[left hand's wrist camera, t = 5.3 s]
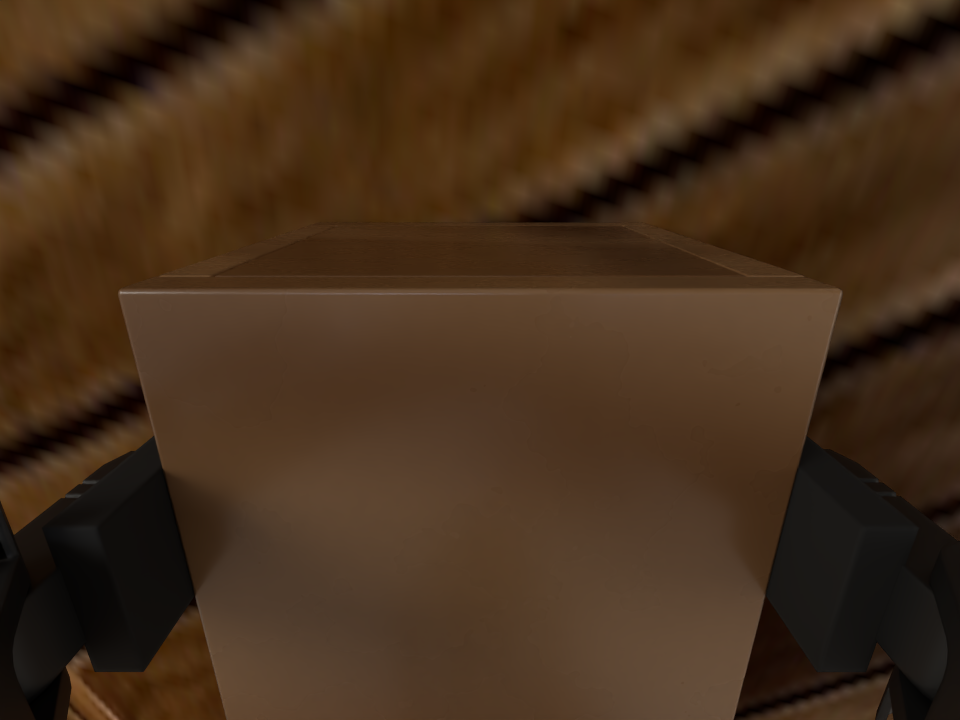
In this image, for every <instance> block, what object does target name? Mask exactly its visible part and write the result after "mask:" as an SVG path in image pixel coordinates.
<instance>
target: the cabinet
mask: <svg viewBox="0 0 960 720" xmlns="http://www.w3.org/2000/svg"><path fill="white" fill-rule="evenodd" d="M842 295H843V293H842V290H841V289H839V288H837V287H834V286H831V285H828V284H825V283H822V282H819V281H816V280H813V279H810V278H807V277H804V276H803V275H800V274H797V273H794V272H791V271H788V270H785V269H782V268H779V267H776V266H773V265H770V264H767V263H764V262H761V261H758V260H755V259H752V258H749V257H746V256H743V255H740V254H737V253H734V252H731V251H728V250H725V249H721V248H718V247H715V246H712V245H709V244H706V243H703V242H700V241H697V240H694V239H691V238H688V237H685V236H682V235H679V234H676V233H673V232H670V231H667V230H664V229H661V228H658V227H655V226H651V225H648V224H645V223H315V224H312V225H309V226H306V227H303V228H300V229H297V230H294V231H291V232H288V233H285V234H282V235H279V236H276V237H273V238H270V239H267V240H264V241H261V242H258V243H256V244H253V245H250V246H247V247H244V248H241V249H238V250H235V251H232V252H229V253H226V254H223V255H220V256H217V257H214V258H211V259H208V260H205V261H202V262H199V263H196V264H193V265H190V266H187V267H184V268H181V269H178V270H175V271H172V272H169V273H166V274H163V275H160V276H159V277H154V278H151V279H148V280H145V281H142V282H139V283H136V284H133V285H130V286H127V287H124V288H121V289H120V290H119V292H118V296H119V300H120V304H121V308H122V312H123V316H124V320H125V323H126V327H127V331H128V335H129V339H130V343H131V347H132V351H133V355H134V359H135V363H136V366H137V370H138V374H139V378H140V382H141V386H142V390H143V394H144V398H145V402H146V406H147V409H148V413H149V417H150V421H151V425H152V429H153V433H154V437H155V441H156V445H157V449H158V453H159V456H160V460H161V464H162V468H163V472H164V476H165V480H166V484H167V488H168V492H169V496H170V499H171V503H172V507H173V511H174V515H175V519H176V523H177V527H178V531H179V535H180V539H181V542H182V546H183V550H184V554H185V558H186V562H187V566H188V570H189V574H190V578H191V582H192V586H193V589H194V593H195V597H196V601H197V605H198V609H199V613H200V617H201V621H202V625H203V629H204V632H205V636H206V640H207V644H208V648H209V652H210V656H211V660H212V664H213V668H214V672H215V675H216V679H217V683H218V687H219V691H220V695H221V699H222V703H223V707H224V711H225V715H226V719H227V720H734V716H735V712H736V708H737V704H738V700H739V697H740V693H741V689H742V685H743V681H744V677H745V673H746V669H747V665H748V662H749V658H750V654H751V650H752V646H753V642H754V638H755V634H756V630H757V626H758V623H759V619H760V615H761V611H762V607H763V603H764V599H765V595H766V591H767V588H768V584H769V580H770V576H771V572H772V568H773V564H774V560H775V556H776V553H777V549H778V545H779V541H780V537H781V533H782V529H783V525H784V521H785V517H786V514H787V510H788V506H789V502H790V498H791V494H792V490H793V486H794V482H795V479H796V475H797V471H798V467H799V463H800V459H801V455H802V451H803V447H804V443H805V440H806V436H807V432H808V428H809V424H810V420H811V416H812V412H813V408H814V405H815V401H816V397H817V393H818V389H819V385H820V381H821V377H822V373H823V369H824V366H825V362H826V358H827V354H828V350H829V346H830V342H831V338H832V334H833V331H834V327H835V323H836V319H837V315H838V311H839V307H840V303H841V299H842Z"/></svg>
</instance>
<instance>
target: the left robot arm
mask: <svg viewBox="0 0 960 720" xmlns="http://www.w3.org/2000/svg"><path fill="white" fill-rule="evenodd" d="M194 596H195V593H194V589H193V586H192V582H191V578H190V574H189V570H188V566H187V562H186V558H185V554H184V550H183V546H182V542H181V539H180V535H179V531H178V527H177V523H176V519H175V515H174V511H173V507H172V503H171V499H170V496H169V492H168V488H167V484H166V480H165V476H164V472H163V468H162V464H161V460H160V456H159V453H158V449H157V445H156V441H155V437H154V436H153V437H152V438H151V439H150V440H148V441H147V442H146V443H145V444H143V445H142V446H141V447H140V448H139V449H137V450H136V451H130V452H128V453H126V454H124V455H122V456H120V457H118V458H116V459H114V460H112V461H110V462H108V463H106V464H104V465H103V466H102V467H100V468H99V469H98V470H96V471H95V472H94V473H93V474H91V475H90V476H89V477H88V478H86V479H85V480H84V481H83V484H79V485H77V486H76V487H75V488H74V489H72V490H71V491H70V492H68V493H67V494H66V497H65V498H61V499H59V500H58V501H57V502H56V503H54V504H53V505H52V506H51V507H49V508H48V509H47V510H45V511H44V512H43V513H42V514H40V515H39V516H38V517H37V518H35V519H34V520H33V521H31V522H30V523H29V524H28V525H26V526H25V527H24V528H23V529H21V530H20V531H19V532H17V533H16V534H15V535H13V532H12V530H11V527H10V525H9V522H8V520H7V517H6V514H5V512H4V509H3V507H2V504H1V502H0V720H67V714H68V708H69V701H70V694H71V682H70V677H69V674H68V671H67V669H66V665H67V664H68V663H69V662H70V661H71V659H72V658H73V657H74V656H75V655H76V653H77V652H78V651H79V650H80V649H81V647H82V646H83V645H84V644H85V647H86V649H87V652H88V655H89V658H90V660H91V663H92V666H93V668H94V671H95V672H144V670H145V669H146V667H147V666H148V664H149V663H150V661H151V660H152V658H153V657H154V655H155V654H156V652H157V651H158V649H159V648H160V647H161V645H162V644H163V642H164V641H165V639H166V638H167V636H168V635H169V633H170V632H171V630H172V629H173V627H174V626H175V624H176V623H177V621H178V620H179V618H180V617H181V615H182V614H183V612H184V611H185V609H186V608H187V606H188V605H189V603H190V602H191V600H192V599H193V597H194ZM766 596H767V598H768V599H769V601H770V602H771V604H772V605H773V607H774V608H775V610H776V611H777V613H778V614H779V616H780V617H781V619H782V620H783V622H784V623H785V625H786V626H787V628H788V629H789V631H790V632H791V634H792V635H793V637H794V638H795V640H796V641H797V643H798V644H799V646H800V647H801V649H802V650H803V652H804V653H805V655H806V656H807V658H808V659H809V661H810V662H811V664H812V665H813V667H814V668H815V670H816V671H817V672H866V670H867V668H868V665H869V662H870V660H871V657H872V654H873V652H874V649H875V646H876V643H878V644H879V645H880V646H881V647H882V649H883V650H884V651H885V652H886V653H887V654H888V656H889V657H890V658H891V659H892V660H893V662H894V663H895V666H894V669H893V671H892V674H891V677H890V679H889V682H888V684H887V687H886V689H885V692H884V694H883V697H882V699H881V702H880V704H879V707H878V709H877V713H876V718H875V720H887V717H888V715H889V714H891V713H893V719H894V720H960V541H957V540H956V539H954V538H953V537H952V536H951V535H949V534H948V533H947V532H945V531H944V530H943V529H942V528H940V527H939V526H938V525H936V524H935V523H934V522H933V521H931V520H930V519H929V518H927V517H926V516H925V515H924V514H922V513H921V512H920V511H918V510H917V509H916V508H915V507H913V506H912V505H911V504H909V503H908V502H907V501H906V500H904V499H903V498H902V497H901V496H896V493H895V492H894V491H893V490H892V489H890V488H889V487H888V486H886V485H885V484H884V483H879V481H878V479H877V478H876V477H875V476H874V475H872V474H871V473H870V472H868V471H867V470H866V469H865V468H863V467H862V466H861V465H859V464H858V463H856V462H854V461H852V460H850V459H848V458H846V457H844V456H842V455H840V454H838V453H836V452H834V451H832V450H830V449H822V448H821V447H820V446H818V445H817V444H816V443H815V442H813V441H812V440H811V439H810V438H809V437H807V436H806V440H805V443H804V447H803V451H802V455H801V459H800V463H799V467H798V471H797V475H796V479H795V482H794V486H793V490H792V494H791V498H790V502H789V506H788V510H787V514H786V517H785V521H784V525H783V529H782V533H781V537H780V541H779V545H778V549H777V553H776V556H775V560H774V564H773V568H772V572H771V576H770V580H769V584H768V588H767V591H766Z"/></svg>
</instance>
